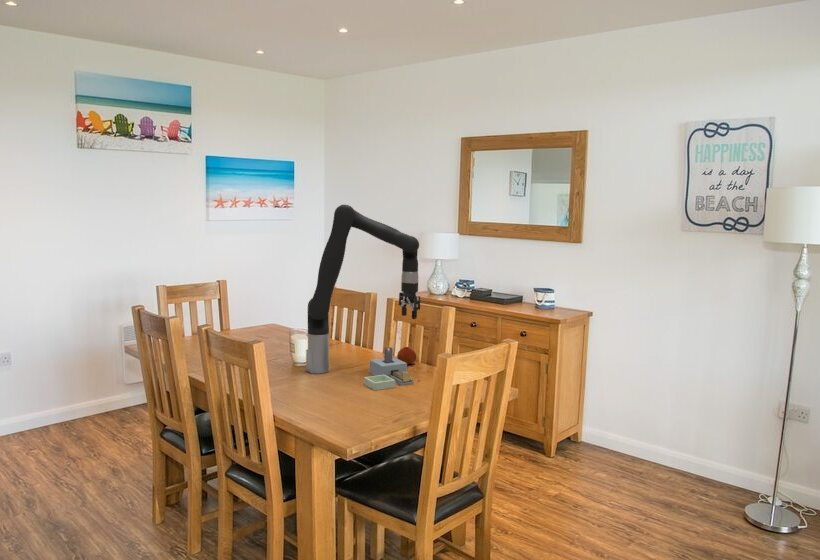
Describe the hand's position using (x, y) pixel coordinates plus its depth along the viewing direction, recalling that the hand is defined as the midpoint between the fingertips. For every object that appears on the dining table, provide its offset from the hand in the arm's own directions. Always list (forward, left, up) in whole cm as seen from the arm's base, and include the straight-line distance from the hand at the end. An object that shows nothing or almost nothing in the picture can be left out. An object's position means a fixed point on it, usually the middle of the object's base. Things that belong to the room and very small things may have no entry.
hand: (409, 317), depth 288 cm
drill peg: (-12, -3, -24) cm, 27 cm away
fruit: (+5, +10, -25) cm, 27 cm away
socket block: (-12, -8, -24) cm, 28 cm away
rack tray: (-23, -16, -24) cm, 37 cm away
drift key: (-12, -14, -23) cm, 30 cm away
